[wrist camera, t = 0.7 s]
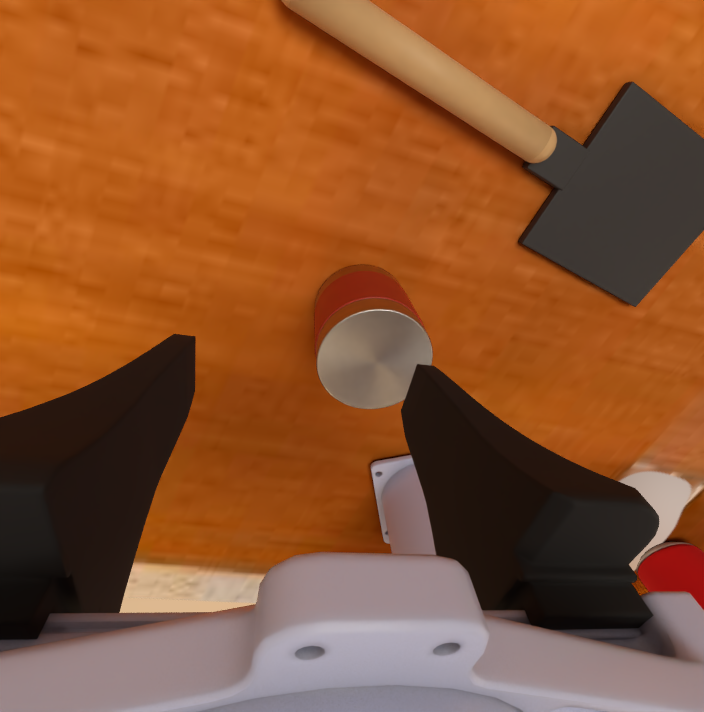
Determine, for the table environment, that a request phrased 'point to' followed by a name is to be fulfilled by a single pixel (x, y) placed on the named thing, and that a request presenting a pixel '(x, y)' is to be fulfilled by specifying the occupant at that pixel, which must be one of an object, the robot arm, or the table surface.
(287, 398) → the table surface
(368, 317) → the tin
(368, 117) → the table surface
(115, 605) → the robot arm
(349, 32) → the spatula
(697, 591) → the beverage can
